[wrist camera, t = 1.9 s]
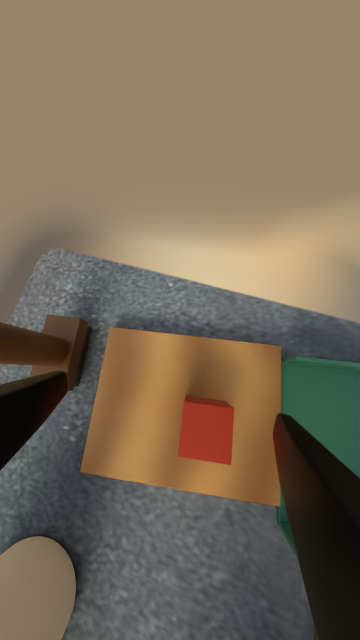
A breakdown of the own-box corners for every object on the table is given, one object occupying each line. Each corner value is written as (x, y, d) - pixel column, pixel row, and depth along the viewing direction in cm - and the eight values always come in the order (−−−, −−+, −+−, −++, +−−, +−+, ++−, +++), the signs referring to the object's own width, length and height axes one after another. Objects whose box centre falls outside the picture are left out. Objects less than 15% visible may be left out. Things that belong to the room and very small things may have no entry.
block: (180, 440, 19) (177, 457, 16) (185, 395, 20) (183, 401, 17) (223, 446, 19) (231, 465, 15) (226, 401, 20) (234, 408, 16)
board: (87, 465, 21) (79, 472, 19) (114, 329, 24) (109, 326, 23) (273, 497, 19) (280, 507, 18) (275, 347, 23) (281, 346, 21)
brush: (80, 389, 23) (-60, 411, 10) (49, 384, 23) (-125, 401, 10) (95, 325, 24) (-9, 275, 12) (66, 321, 25) (-67, 269, 12)
